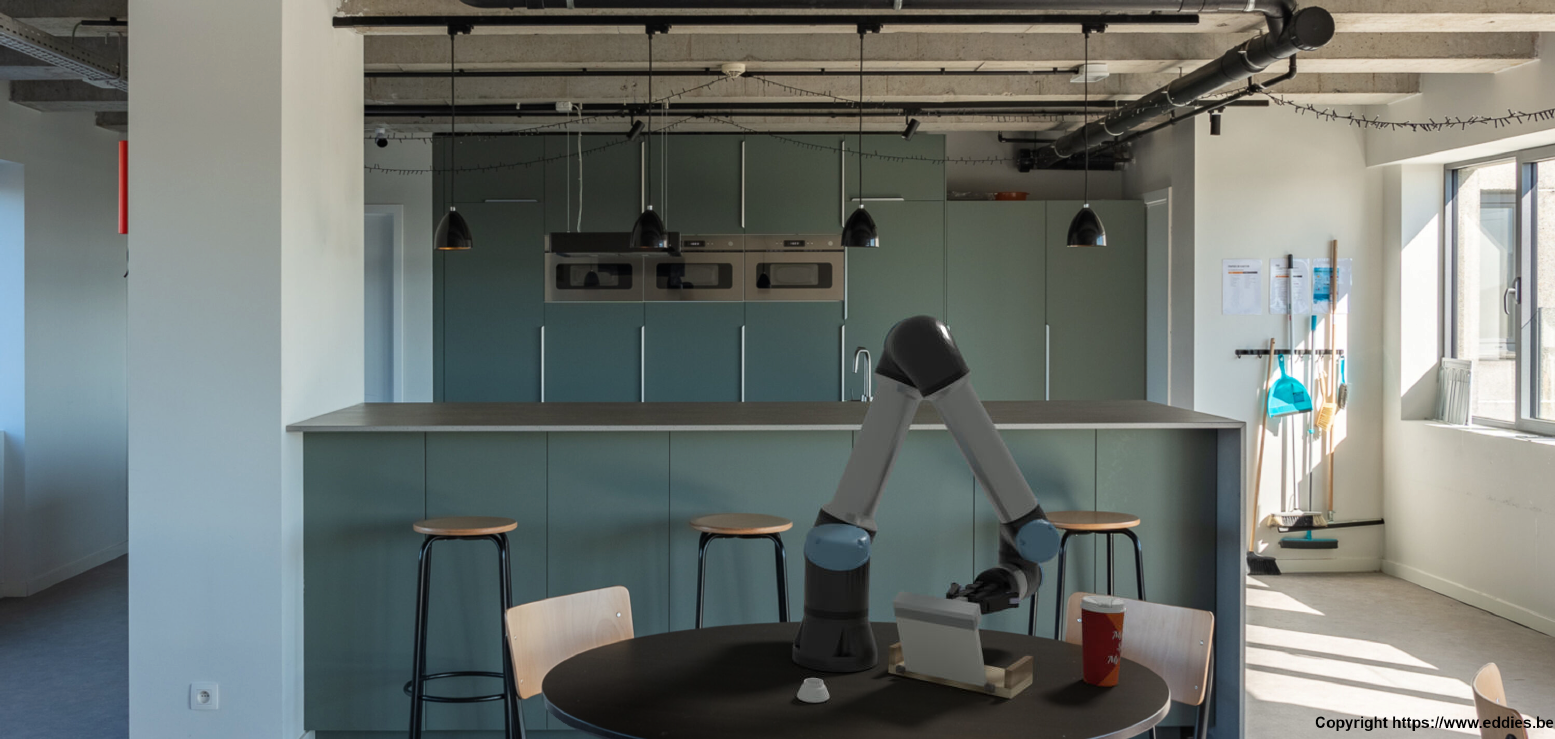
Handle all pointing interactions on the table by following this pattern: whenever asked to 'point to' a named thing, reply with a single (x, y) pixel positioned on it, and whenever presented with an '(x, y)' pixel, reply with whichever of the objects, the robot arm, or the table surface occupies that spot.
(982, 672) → the tailgate
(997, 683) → the cart bed
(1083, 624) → the paper cup
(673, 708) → the table surface
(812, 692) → the white jar
